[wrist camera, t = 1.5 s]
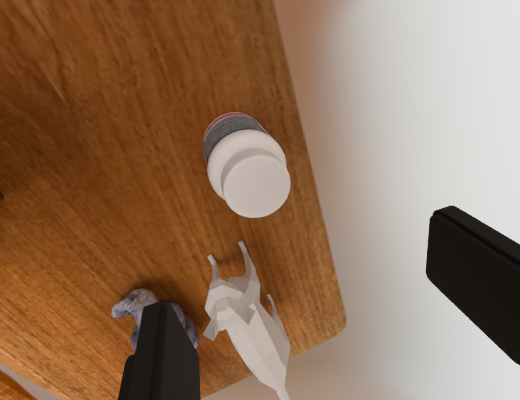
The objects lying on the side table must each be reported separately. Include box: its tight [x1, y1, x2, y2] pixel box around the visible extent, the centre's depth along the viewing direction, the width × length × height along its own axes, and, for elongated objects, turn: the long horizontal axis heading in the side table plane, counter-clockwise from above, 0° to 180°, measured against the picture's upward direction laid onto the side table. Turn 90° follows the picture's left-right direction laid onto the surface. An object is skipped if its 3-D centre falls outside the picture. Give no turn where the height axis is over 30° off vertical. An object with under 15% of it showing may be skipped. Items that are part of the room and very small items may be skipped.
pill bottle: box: [203, 112, 290, 218], centre depth 21 cm, size 5×5×9 cm
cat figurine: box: [203, 241, 293, 400], centre depth 26 cm, size 4×20×14 cm, turn 20°
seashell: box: [111, 288, 199, 351], centre depth 29 cm, size 5×5×10 cm
